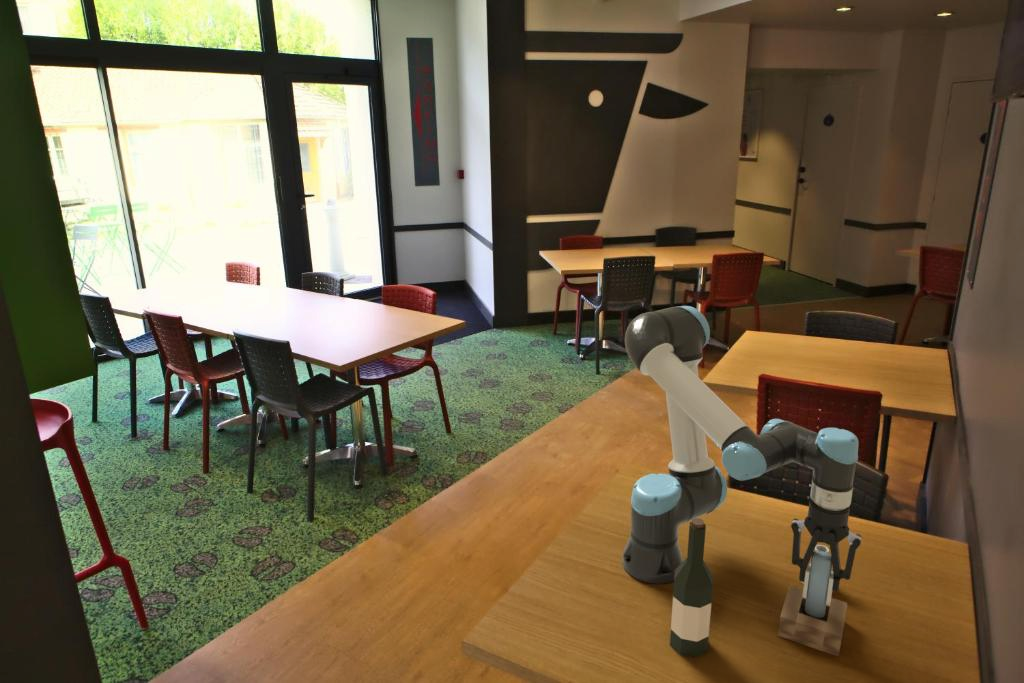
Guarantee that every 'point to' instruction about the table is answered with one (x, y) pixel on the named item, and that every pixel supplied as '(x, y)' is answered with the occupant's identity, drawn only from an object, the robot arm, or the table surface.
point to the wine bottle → (692, 597)
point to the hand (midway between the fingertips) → (816, 597)
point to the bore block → (812, 623)
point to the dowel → (818, 584)
